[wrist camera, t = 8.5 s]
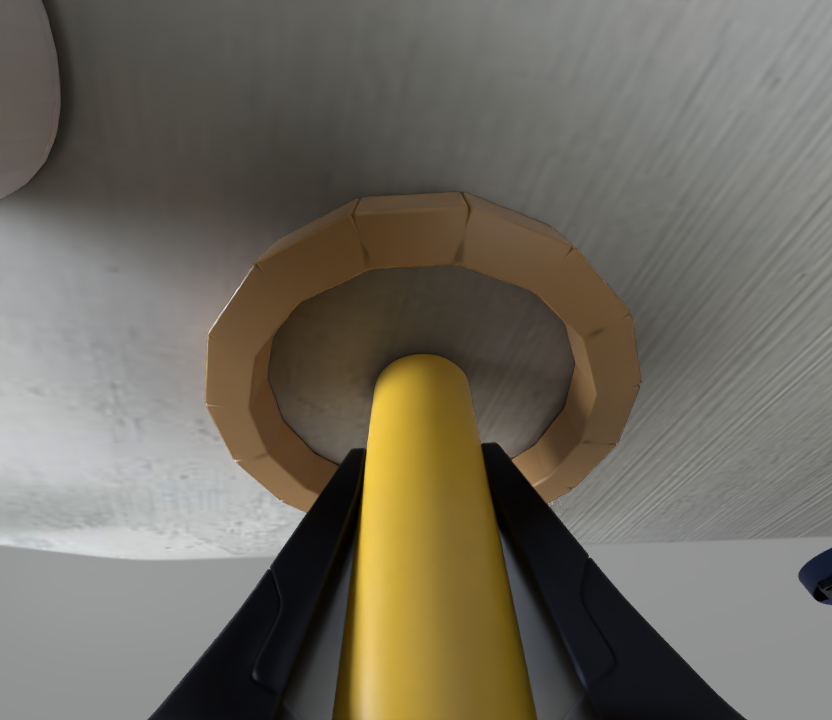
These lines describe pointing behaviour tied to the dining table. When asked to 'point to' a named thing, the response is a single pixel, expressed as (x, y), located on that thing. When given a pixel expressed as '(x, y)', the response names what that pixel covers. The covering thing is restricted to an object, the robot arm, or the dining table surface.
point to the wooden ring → (414, 247)
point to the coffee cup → (26, 92)
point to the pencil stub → (428, 564)
